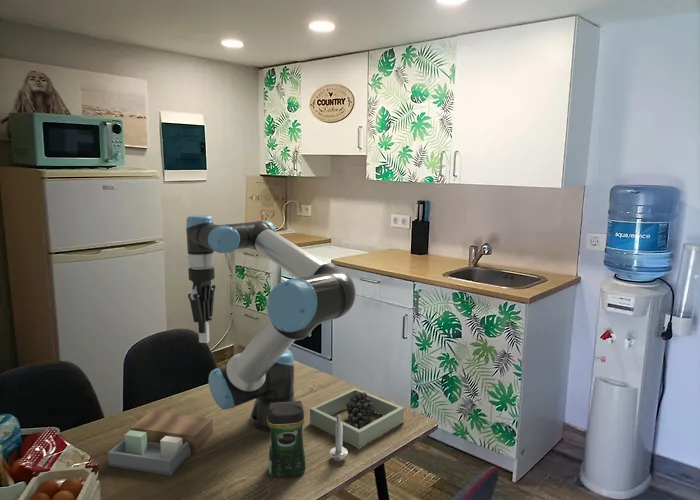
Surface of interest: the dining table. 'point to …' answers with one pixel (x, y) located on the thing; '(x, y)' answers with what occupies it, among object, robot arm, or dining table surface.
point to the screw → (338, 442)
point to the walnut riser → (175, 428)
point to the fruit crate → (350, 434)
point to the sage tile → (136, 442)
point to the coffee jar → (286, 439)
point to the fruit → (359, 410)
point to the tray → (148, 458)
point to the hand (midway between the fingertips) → (204, 341)
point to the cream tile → (170, 446)
